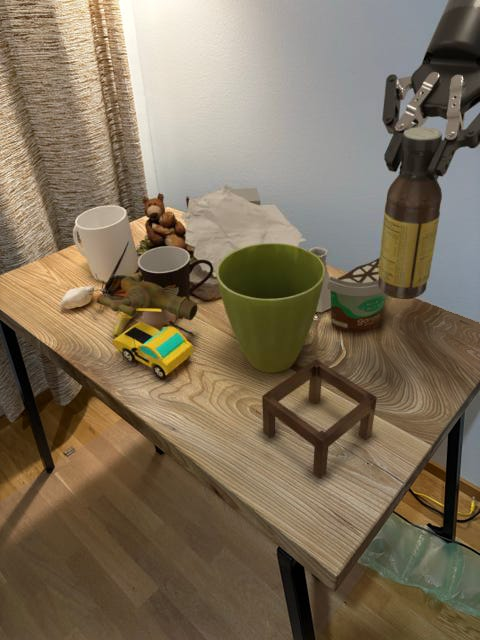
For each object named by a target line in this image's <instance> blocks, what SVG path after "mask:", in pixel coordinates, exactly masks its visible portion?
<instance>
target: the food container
mask: <svg viewBox="0 0 480 640" xmlns="http://www.w3.org/2000/svg"><path fill="white" fill-rule="evenodd" d="M379 260H380V257H378V258H376V259H374V260H372V261H371V262H367V263H365V264H362V265H358V266H356V267H354V268H353V269H351V270H350V271H348V272H347V273H345V274H343V275H341V276H339V277H337V278H336V277H333V275H332V276H331V275H330V276H329V277H330V280H329V283H328V288H327V289H329V290H331V308H330V320H331V322H330V323H331V324H330V325H331V326H332V327H334V328H335V329H338V330H340V331H343V332H348V333H365V332H369V331H372V330H374V329H375V328H377V327H378V326H379V324H380V323H381V320H382V317H383V312H384V308H385V304H386V300H387V296H388V295H387V294H385V293H384V292H383V291H382V290H381V289H380V288H379V286H378V279H379V273H378V270H379Z"/></svg>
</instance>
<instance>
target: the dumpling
mask: <svg viewBox="0 0 480 640" xmlns="http://www.w3.org/2000/svg"><path fill="white" fill-rule="evenodd" d="M95 288H97V286H96V285H86V286H79V287H74V288H70V289H68V290H66V292H65V293H64V296H63V298H62V299H61V301H60V304H59V305H60V308H61V309H67V310H70V309H75V308H81V307H84V306H86V305H88V304H89V303H90V302H91V301H92V299H93V296H94V295H90V294H95Z"/></svg>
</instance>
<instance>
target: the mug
mask: <svg viewBox="0 0 480 640" xmlns="http://www.w3.org/2000/svg"><path fill="white" fill-rule="evenodd" d="M129 220H130V219H129V216H128V212H127V210H126V209H125V207H122V206H120V205H114V204H113V205H112V204H111V205H110V204H109V205H100V206H96V207H92V208H90V209H88V210H85V211H83V212H82V213H80V214H79V215H78V216H77V217H76V218H75V221H74V223H75V225H74V227H73V229H72V238H73V242H74V246H75V247H76V249H77V251H78V252H79V254H80V256H82V257H83V258H84V259H86V261H87V264H88V267H89V270H90V274H91V275H92V277H93V278H94V279H95V280H97V281H98V282H102V283H103V281H104V283H107V282H108V280H109V278H110V276H111V274H112V272H113V271H114V269H115V267H116V265H117V263H118V261H119V259H120V257H121V255H122V254H123V252H124V249H125V247H126V245H127V243H128V241H129V243H128V246H127V249H126V251H125V254H124V256H123V258H122V261H121V263H120V265H119V268H118V269H117V271H116V273H115V275H114V277H115V276H117V275H124V276H130V275H133V274H136V273H137V271H138V269H139V265H138V255H137V251H136V250H137V246H136V243H135V240H134V235H133V232H132V228H131V223H130V221H129ZM78 236H79V239H80V242H81V244H80V243H79V239H78ZM96 275H97V278H98V279H99V280H98V279H97V278H96ZM111 277H112V276H111ZM100 280H102V281H100Z"/></svg>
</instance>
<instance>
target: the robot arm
mask: <svg viewBox="0 0 480 640" xmlns="http://www.w3.org/2000/svg"><path fill="white" fill-rule="evenodd" d="M384 88H385V89H384V97H383V100H384V101H383V108H382V109H383V110H382V123H383V125H384V127H385V129H386V132H387V133H388V134H390V135H392V136H391V139H390V141H389V143H388V146H387V148H386V149H385V153H384V155H383V159H384V162H385V165H386V167H387V169H388V171H389V172H392V173H397V172H398V169H399V168H400V165H401V160H402V151H403V148H402V144H401V143H402V136H403V132H404V131H405V130H408V129H410V128H415V127H423V126H424V124H425V123H426V122H427V120H428V119H429V118H437V117H440V118H442V119H443V120H446V125H445V131H444V138H443V139H442V140H441V141H440V143H439V145H438V147H437V149H436V151H435V154H434V156H433V158H432V161H431V163H430V165H429V167H428V170H427V175H428V177H429V179H430V180H434V181H438V180H439V177H444V176H445V175H446V174H447V172H448V170H449V167H450V165H451V163H452V161H453V158H454V156H455V154H456V152H457V151H458V150H459V149H461V148H466V147H468V148H469V149H476V148H478V146H479V145H480V112H479V113H478V114H477V115H476V117H475V118H474V119H473V120H472V121H471V122H470V124H468V126H467V127H466V128H465V129H464V125H465V117H466V113H467V112H468V111H470V110H471V109H473V108H474V107H475V106H476V105H479V103H480V0H448V1H447V3H446V5H445V8H444V9H443V12H442V15H441V17H440V19H439V20H438V23H437V25H436V28H435V30H434V32H433V35H432V36H431V39H430V42H429V44H428V46H427V48H426V52H424V56H423V59H422V62H421V64H420V66H418V68H417V69H415V71H414V72H413V73H412V74H411V76H406V77H401V78H400V77H399V78H398V76H397V75H396V74H389V75H388V76H387V77H386V80H385V87H384ZM411 89H412V90H413V94H414V95H413V97H412V98H411V99H410V101H409V102H408V103H407V105H406V107H405V111H404V112H403V114H402V116H400V112H401V103H402V102H401V101H403V100H405V98H406V96H407V94H408V92H409V91H410V90H411Z"/></svg>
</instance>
